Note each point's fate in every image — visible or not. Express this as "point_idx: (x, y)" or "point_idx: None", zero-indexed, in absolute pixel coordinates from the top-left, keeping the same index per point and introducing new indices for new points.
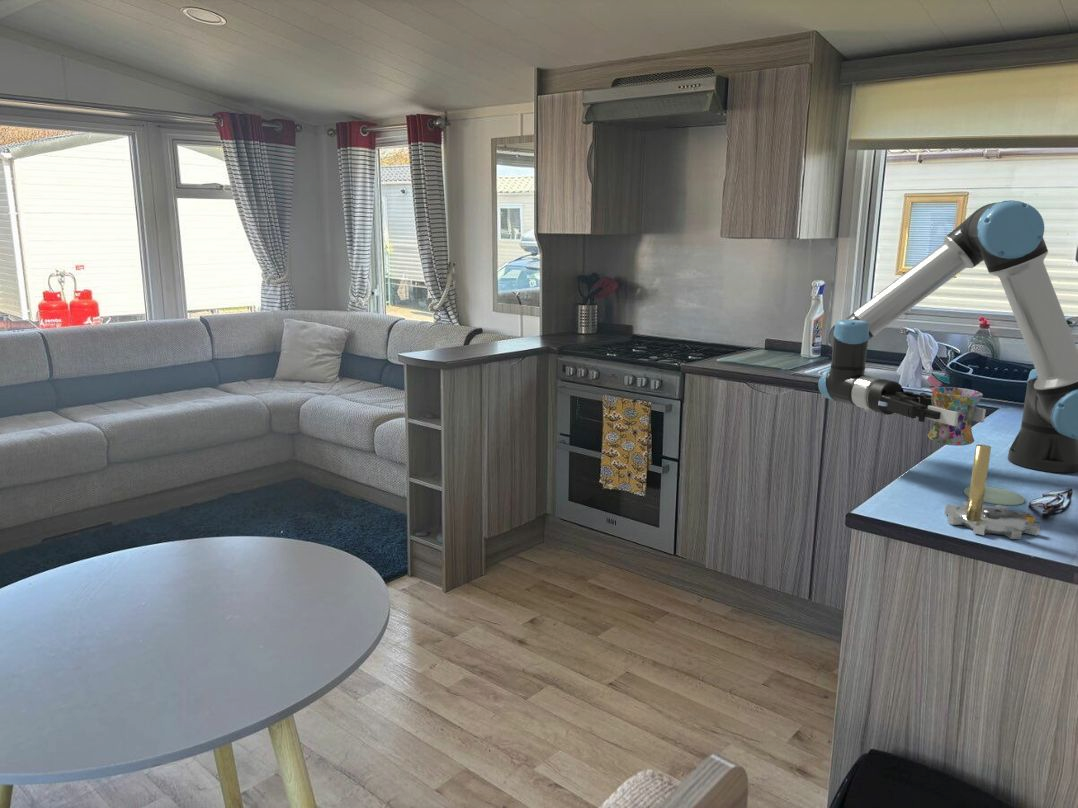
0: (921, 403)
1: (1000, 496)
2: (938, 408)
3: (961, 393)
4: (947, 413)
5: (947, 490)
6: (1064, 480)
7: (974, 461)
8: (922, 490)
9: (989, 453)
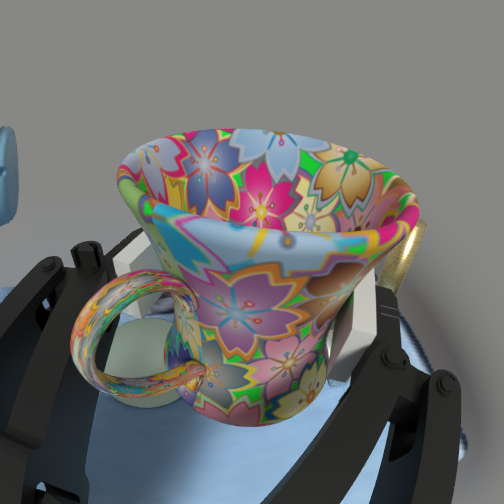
0: (64, 476)
1: (151, 348)
2: (374, 280)
3: (148, 184)
4: None
5: (168, 437)
6: (8, 290)
7: (414, 255)
8: (215, 478)
9: None
